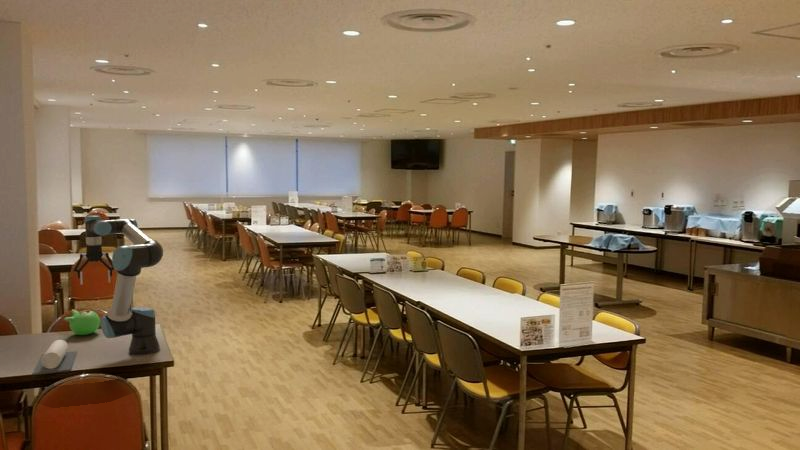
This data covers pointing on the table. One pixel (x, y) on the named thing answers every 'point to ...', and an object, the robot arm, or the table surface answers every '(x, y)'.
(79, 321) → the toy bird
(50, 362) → the bottle
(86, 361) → the table surface
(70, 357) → the mat
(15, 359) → the table surface
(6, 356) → the table surface
